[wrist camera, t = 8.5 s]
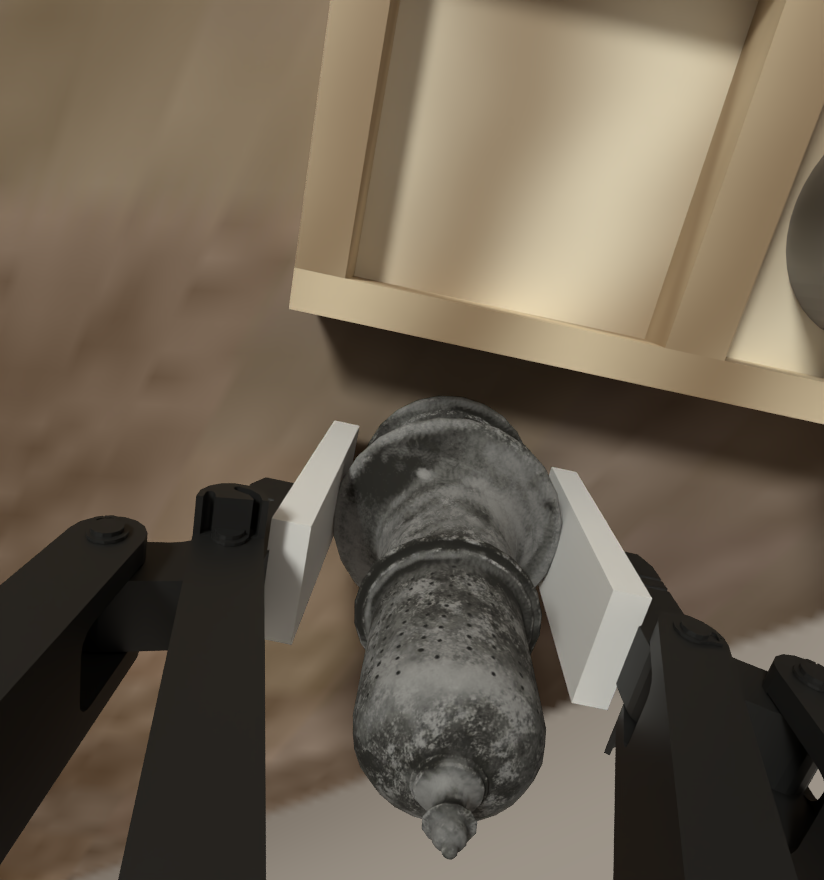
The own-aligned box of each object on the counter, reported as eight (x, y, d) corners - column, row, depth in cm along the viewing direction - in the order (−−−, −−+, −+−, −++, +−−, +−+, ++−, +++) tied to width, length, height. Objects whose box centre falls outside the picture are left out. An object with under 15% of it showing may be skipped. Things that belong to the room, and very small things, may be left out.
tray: (311, 300, 17) (288, 308, 14) (373, -128, 13) (358, -210, 11) (976, 444, 17) (1064, 476, 15) (1191, 57, 14) (1347, 18, 11)
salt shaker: (515, 573, 19) (623, 1050, 8) (341, 542, 19) (190, 973, 8) (560, 405, 17) (789, 704, 6) (367, 369, 17) (218, 601, 6)
